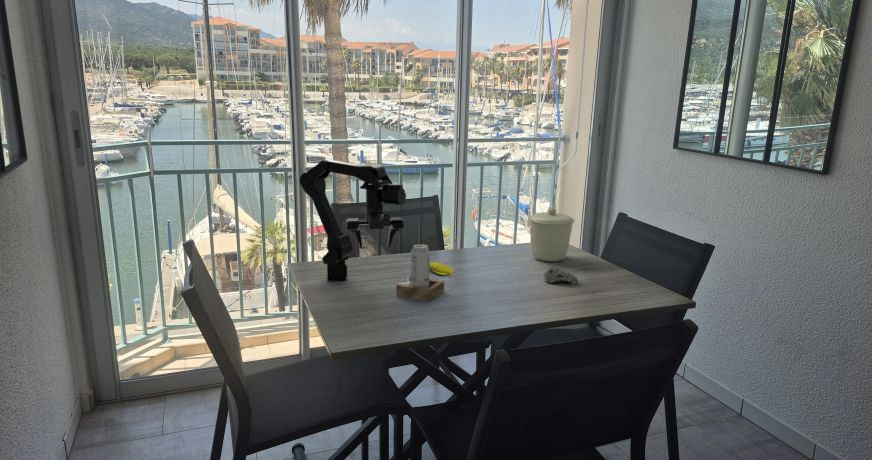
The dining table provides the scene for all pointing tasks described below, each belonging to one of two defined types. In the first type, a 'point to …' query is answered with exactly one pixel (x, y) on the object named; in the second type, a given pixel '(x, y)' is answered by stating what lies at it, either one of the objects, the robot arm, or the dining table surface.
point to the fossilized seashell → (559, 276)
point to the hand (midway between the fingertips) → (375, 248)
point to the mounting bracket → (405, 282)
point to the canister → (550, 235)
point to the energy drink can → (420, 266)
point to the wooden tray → (421, 290)
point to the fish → (441, 268)
